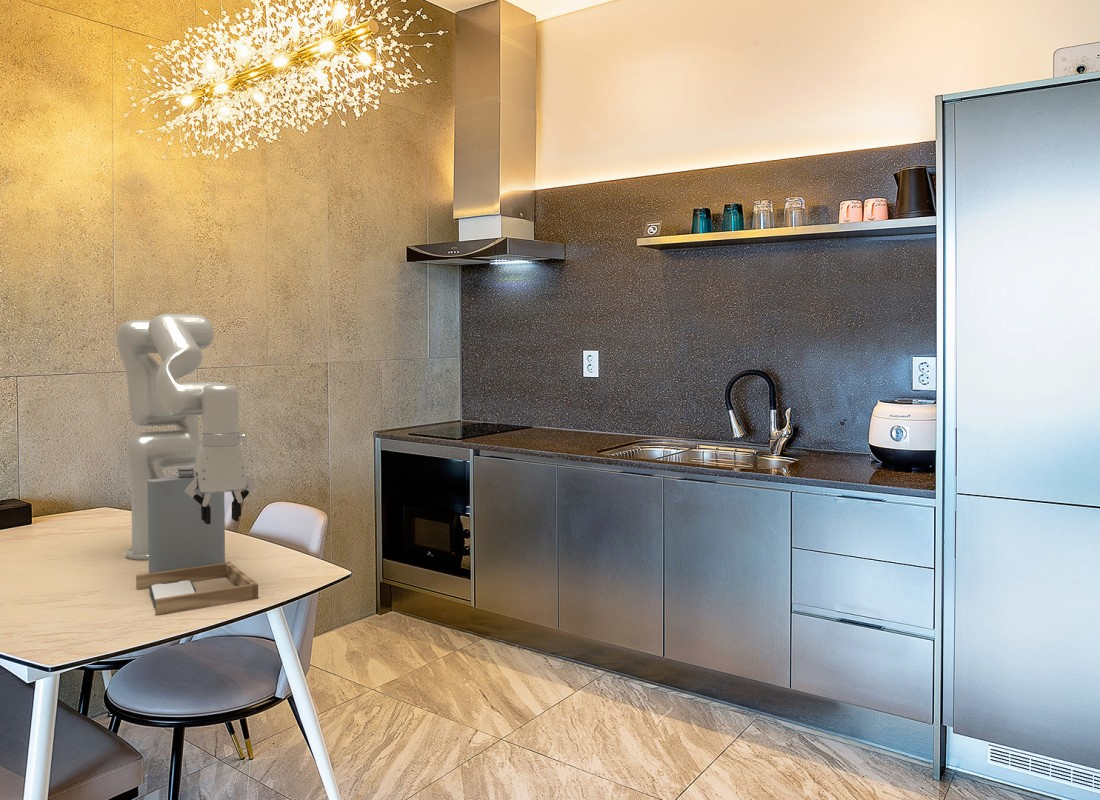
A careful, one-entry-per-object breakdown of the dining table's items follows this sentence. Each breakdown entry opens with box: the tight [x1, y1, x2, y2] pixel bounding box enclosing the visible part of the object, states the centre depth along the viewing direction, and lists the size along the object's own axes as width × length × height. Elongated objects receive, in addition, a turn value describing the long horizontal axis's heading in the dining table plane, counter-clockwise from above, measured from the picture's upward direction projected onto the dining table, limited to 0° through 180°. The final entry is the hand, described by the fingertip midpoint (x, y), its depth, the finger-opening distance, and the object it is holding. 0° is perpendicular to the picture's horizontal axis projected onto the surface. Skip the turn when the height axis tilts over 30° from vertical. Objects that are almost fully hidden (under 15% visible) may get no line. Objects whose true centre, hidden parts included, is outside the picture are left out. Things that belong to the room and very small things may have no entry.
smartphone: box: [149, 580, 197, 609], centre depth 178 cm, size 9×2×16 cm
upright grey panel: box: [147, 465, 226, 573], centre depth 198 cm, size 17×5×25 cm, turn 131°
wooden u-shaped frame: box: [135, 561, 259, 615], centre depth 181 cm, size 21×20×3 cm
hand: (221, 520), depth 183 cm, fingers open, 5 cm apart
